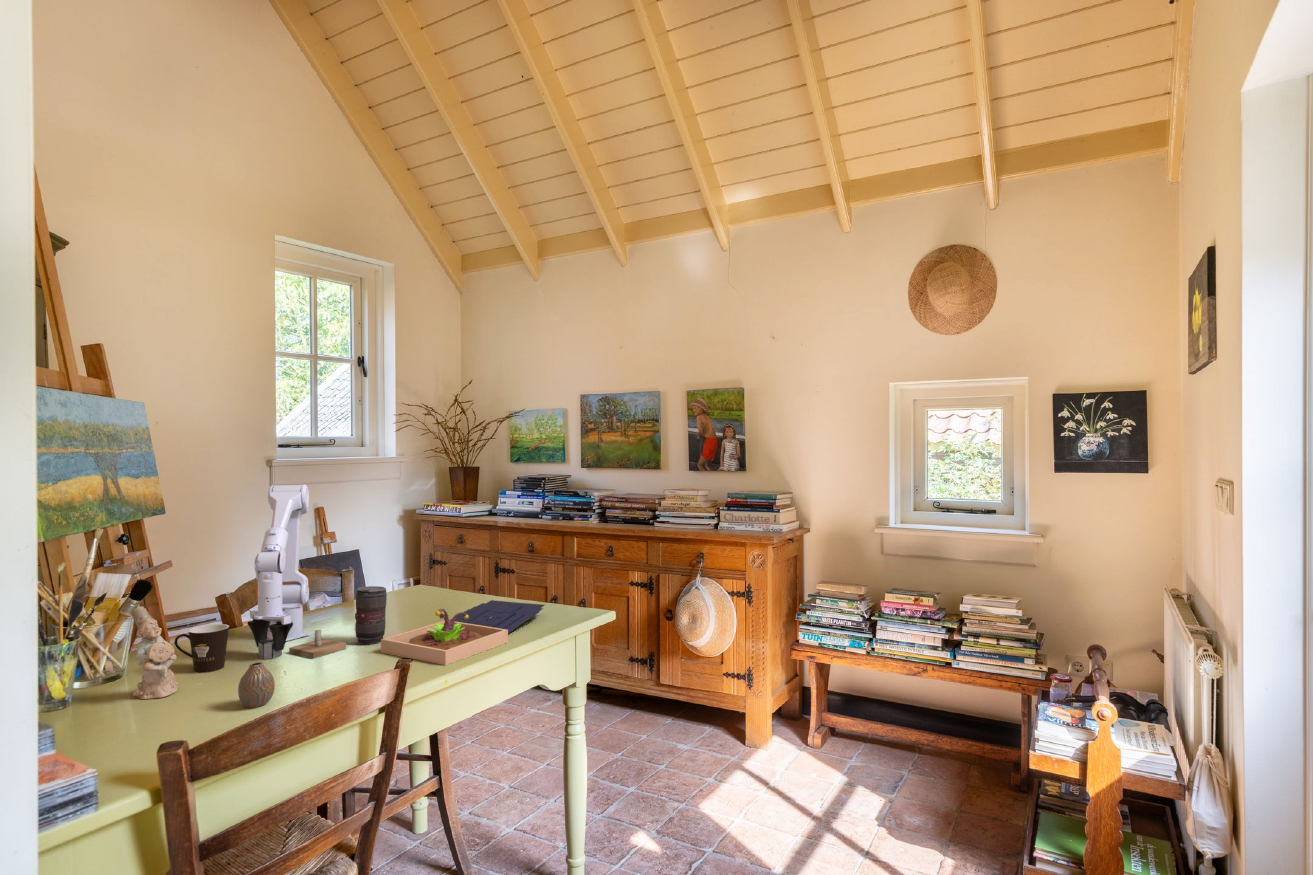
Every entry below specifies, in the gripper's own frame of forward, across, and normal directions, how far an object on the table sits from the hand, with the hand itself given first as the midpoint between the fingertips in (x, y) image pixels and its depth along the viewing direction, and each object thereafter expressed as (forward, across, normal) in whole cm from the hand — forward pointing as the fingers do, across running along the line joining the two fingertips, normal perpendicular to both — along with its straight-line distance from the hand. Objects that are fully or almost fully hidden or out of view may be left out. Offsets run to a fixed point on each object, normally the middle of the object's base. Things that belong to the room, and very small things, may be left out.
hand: (270, 648), depth 190 cm
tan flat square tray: (+2, +35, +28) cm, 45 cm away
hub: (+2, 0, 0) cm, 2 cm away
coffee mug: (+2, -5, -14) cm, 15 cm away
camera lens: (+2, +12, +22) cm, 25 cm away
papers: (+3, +29, +53) cm, 61 cm away
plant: (+3, +35, +28) cm, 45 cm away
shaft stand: (+2, +7, +9) cm, 12 cm away
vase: (+2, +31, -23) cm, 39 cm away
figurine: (+2, +5, -30) cm, 30 cm away
